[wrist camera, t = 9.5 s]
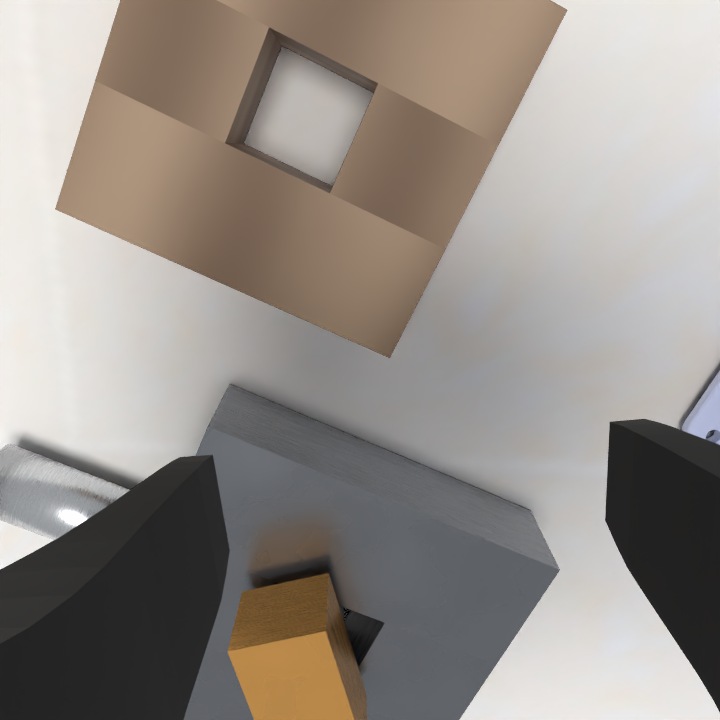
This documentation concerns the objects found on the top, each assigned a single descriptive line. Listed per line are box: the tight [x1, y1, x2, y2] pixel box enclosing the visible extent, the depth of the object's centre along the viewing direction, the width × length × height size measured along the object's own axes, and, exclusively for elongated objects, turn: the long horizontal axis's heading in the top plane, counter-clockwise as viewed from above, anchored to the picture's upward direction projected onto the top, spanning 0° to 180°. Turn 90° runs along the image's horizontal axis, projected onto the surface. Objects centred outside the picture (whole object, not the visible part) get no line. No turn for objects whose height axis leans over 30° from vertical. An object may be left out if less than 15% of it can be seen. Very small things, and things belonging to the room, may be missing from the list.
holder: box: [55, 0, 567, 358], centre depth 18 cm, size 10×10×3 cm
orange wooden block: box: [228, 573, 367, 720], centre depth 21 cm, size 5×3×6 cm, turn 14°
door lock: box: [0, 384, 560, 720], centre depth 22 cm, size 18×12×4 cm, turn 65°
